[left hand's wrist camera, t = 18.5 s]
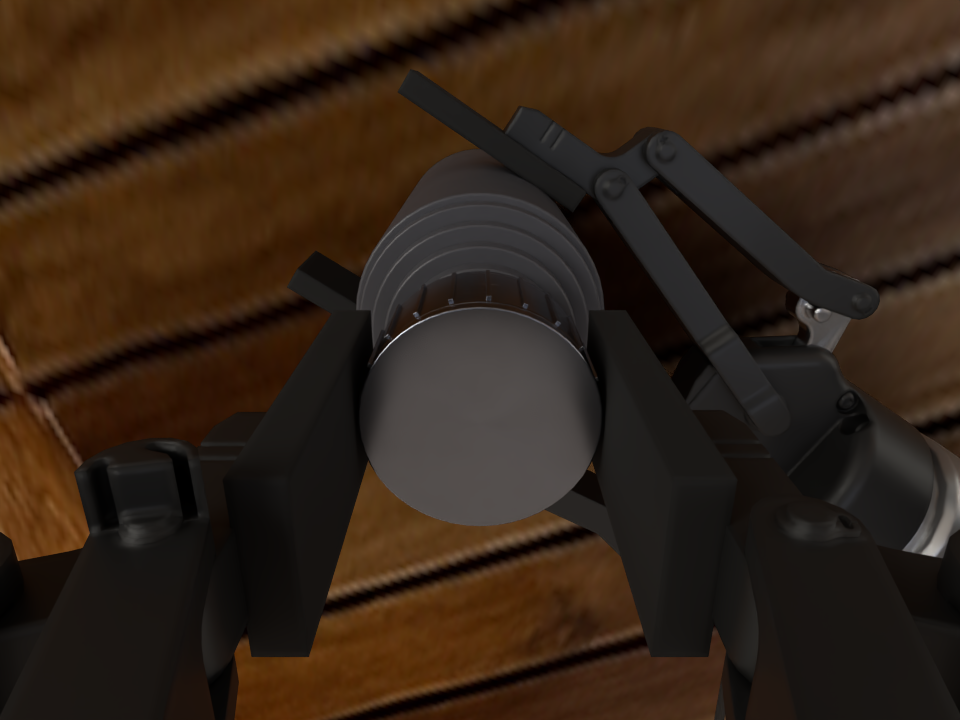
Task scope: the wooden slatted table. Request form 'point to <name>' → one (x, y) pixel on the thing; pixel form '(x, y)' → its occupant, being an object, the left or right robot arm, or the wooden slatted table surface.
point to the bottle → (479, 240)
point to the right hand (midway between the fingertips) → (353, 180)
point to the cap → (480, 401)
